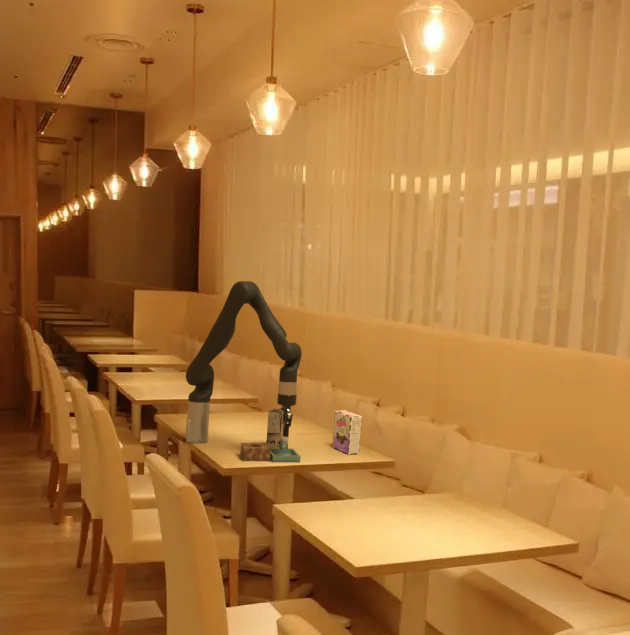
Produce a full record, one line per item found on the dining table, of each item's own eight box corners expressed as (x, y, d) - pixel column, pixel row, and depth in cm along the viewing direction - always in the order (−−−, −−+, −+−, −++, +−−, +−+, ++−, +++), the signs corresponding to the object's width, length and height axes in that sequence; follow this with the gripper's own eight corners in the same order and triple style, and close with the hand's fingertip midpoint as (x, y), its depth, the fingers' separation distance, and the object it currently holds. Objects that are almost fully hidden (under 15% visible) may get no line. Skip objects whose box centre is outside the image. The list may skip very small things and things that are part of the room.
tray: (272, 462, 307) (273, 455, 306) (266, 454, 319) (267, 448, 319) (300, 462, 309) (300, 456, 309) (292, 454, 322) (293, 448, 322)
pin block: (244, 461, 305) (245, 448, 305) (240, 455, 315) (241, 442, 315) (269, 461, 308) (270, 448, 308) (264, 455, 318) (265, 443, 317)
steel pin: (280, 450, 312) (282, 425, 312) (279, 448, 315) (280, 423, 315) (288, 450, 313) (290, 425, 312) (286, 448, 316) (288, 423, 316)
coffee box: (280, 451, 327) (282, 412, 326) (265, 449, 328) (267, 411, 327) (285, 446, 336) (287, 409, 335) (270, 445, 337) (273, 408, 336)
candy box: (331, 447, 340) (334, 410, 339) (343, 447, 343) (346, 409, 342) (347, 455, 328) (350, 416, 327) (359, 454, 331) (362, 415, 330)
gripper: (274, 389, 319) (272, 431, 320) (281, 395, 305) (278, 439, 306) (292, 390, 321) (290, 432, 322) (300, 395, 307) (297, 439, 308)
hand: (284, 435), depth 314 cm, fingers closed on steel pin, 3 cm apart
